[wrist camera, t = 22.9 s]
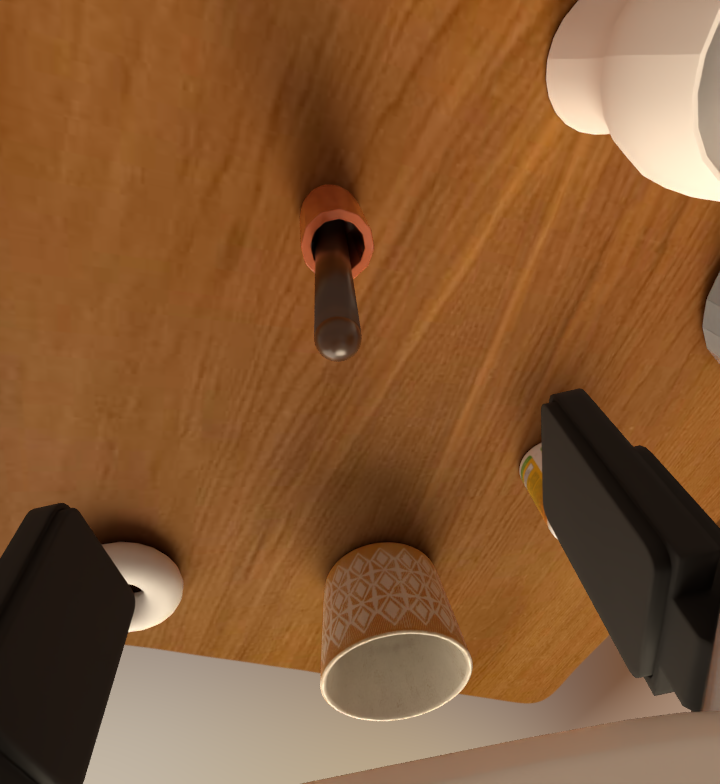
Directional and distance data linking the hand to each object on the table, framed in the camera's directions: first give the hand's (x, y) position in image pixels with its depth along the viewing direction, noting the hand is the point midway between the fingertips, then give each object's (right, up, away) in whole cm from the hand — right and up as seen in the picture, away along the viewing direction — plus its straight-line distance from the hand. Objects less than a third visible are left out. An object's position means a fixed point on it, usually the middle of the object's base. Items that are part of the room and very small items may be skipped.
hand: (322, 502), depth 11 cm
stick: (-1, +13, +23) cm, 26 cm away
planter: (+3, -16, +42) cm, 45 cm away
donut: (-20, -14, +38) cm, 46 cm away
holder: (-1, +14, +24) cm, 27 cm away
